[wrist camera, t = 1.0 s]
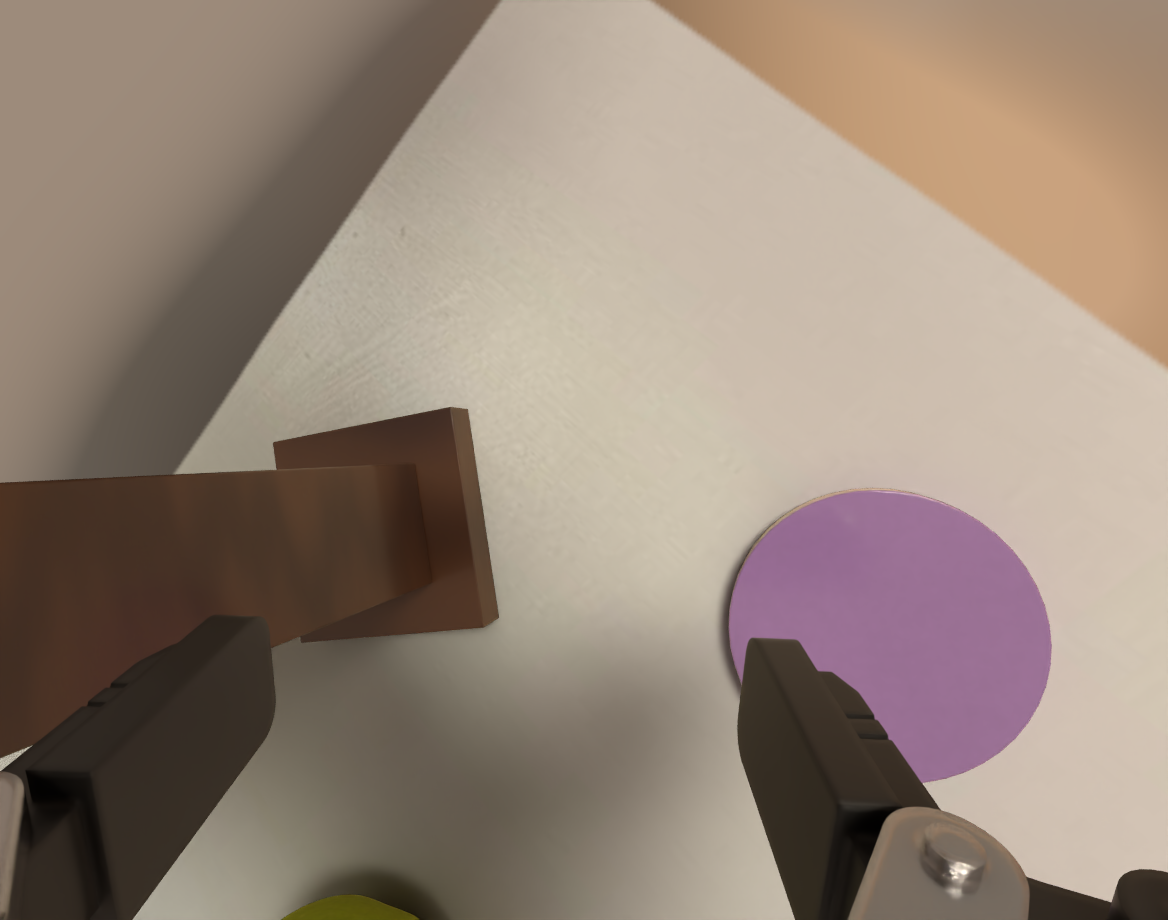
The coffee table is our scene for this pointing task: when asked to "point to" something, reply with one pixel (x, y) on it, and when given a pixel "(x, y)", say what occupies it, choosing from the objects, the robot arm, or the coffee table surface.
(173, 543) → the brown wooden pedestal
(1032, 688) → the lilac plate
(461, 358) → the coffee table surface
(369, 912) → the fruit
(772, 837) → the robot arm
